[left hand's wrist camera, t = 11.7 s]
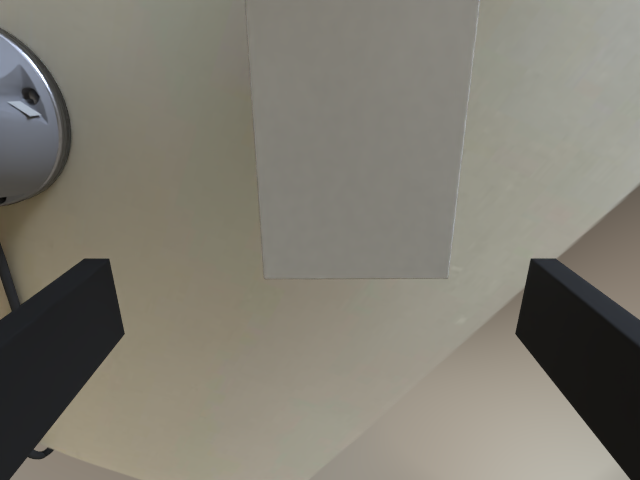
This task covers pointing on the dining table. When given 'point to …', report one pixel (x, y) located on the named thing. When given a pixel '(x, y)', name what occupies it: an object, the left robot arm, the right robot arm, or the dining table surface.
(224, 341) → the dining table surface
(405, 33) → the box
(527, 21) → the dining table surface
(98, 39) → the dining table surface
